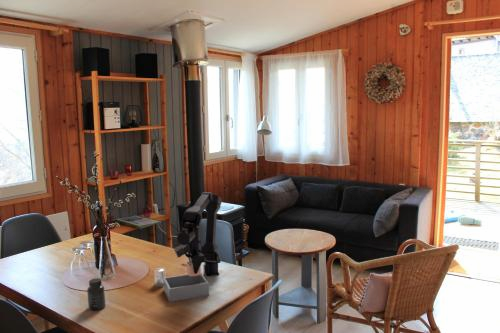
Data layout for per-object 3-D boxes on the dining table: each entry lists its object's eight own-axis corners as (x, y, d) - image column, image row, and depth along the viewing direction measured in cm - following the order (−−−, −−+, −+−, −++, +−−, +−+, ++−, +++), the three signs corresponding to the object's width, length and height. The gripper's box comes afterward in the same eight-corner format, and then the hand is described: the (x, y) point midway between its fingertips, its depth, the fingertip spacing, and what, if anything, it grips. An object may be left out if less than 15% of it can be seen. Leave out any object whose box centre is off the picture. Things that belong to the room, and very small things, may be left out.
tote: (200, 283, 209) (200, 272, 208) (209, 295, 196) (208, 282, 195) (163, 289, 202) (163, 277, 201) (169, 302, 190) (169, 289, 189)
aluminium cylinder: (164, 281, 212) (164, 267, 211) (166, 285, 207) (166, 271, 206) (154, 283, 210) (153, 268, 209) (155, 287, 206) (155, 272, 205)
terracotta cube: (197, 270, 203) (197, 260, 202) (200, 274, 198) (200, 264, 197) (187, 272, 201) (186, 262, 200) (189, 276, 196) (189, 265, 195)
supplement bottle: (90, 304, 188) (89, 277, 187) (107, 303, 189) (105, 276, 187) (86, 311, 182) (84, 283, 180) (103, 310, 182) (101, 283, 181)
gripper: (170, 234, 203) (172, 267, 205) (179, 246, 186) (181, 282, 188) (194, 231, 207) (195, 263, 209) (205, 243, 190) (206, 277, 192)
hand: (194, 271), depth 199 cm, fingers closed on terracotta cube, 5 cm apart
